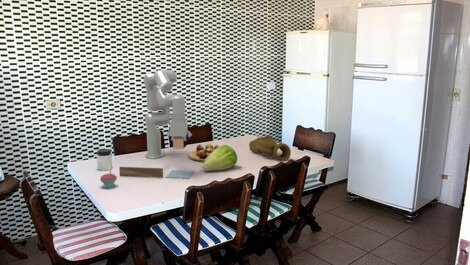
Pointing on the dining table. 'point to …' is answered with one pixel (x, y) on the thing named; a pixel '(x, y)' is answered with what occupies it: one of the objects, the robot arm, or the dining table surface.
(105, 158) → the jar
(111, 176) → the cupcake
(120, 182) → the dining table surface
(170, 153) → the dining table surface
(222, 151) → the lettuce
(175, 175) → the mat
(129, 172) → the walnut screen
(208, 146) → the wooden plate with food
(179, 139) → the lettered cube
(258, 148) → the brown looped sculpture
